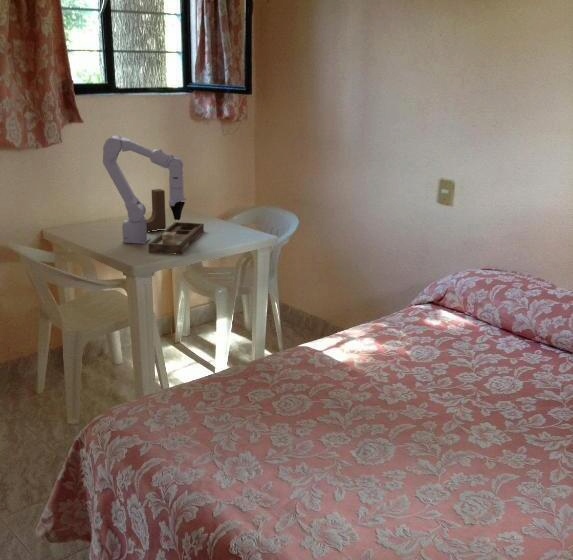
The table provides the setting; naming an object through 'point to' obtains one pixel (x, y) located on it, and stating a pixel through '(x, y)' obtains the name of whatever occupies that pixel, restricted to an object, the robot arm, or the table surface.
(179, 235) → the track
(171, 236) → the maple block
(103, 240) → the table surface
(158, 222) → the wooden block
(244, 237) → the table surface
